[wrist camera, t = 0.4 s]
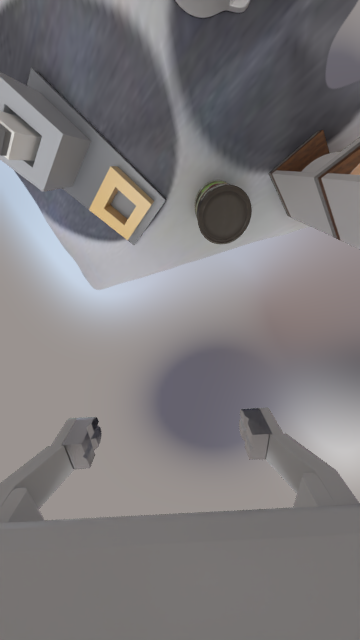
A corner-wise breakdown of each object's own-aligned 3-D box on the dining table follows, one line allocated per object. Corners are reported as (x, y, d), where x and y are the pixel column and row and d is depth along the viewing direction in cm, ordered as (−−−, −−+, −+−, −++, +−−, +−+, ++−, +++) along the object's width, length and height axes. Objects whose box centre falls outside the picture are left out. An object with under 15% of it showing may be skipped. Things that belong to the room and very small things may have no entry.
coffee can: (188, 191, 46) (190, 199, 35) (230, 172, 44) (247, 174, 33) (201, 233, 52) (206, 251, 41) (238, 218, 50) (254, 233, 39)
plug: (26, 118, 32) (-26, 102, 24) (49, 139, 33) (8, 131, 25) (20, 142, 33) (-30, 134, 25) (42, 160, 35) (2, 159, 27)
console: (37, 72, 35) (-28, 29, 24) (166, 199, 47) (161, 209, 36) (18, 149, 41) (-40, 144, 31) (135, 243, 54) (123, 262, 43)
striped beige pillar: (332, 182, 45) (563, 209, 18) (287, 215, 49) (418, 277, 22) (317, 131, 39) (618, 56, 12) (268, 173, 44) (411, 186, 17)
